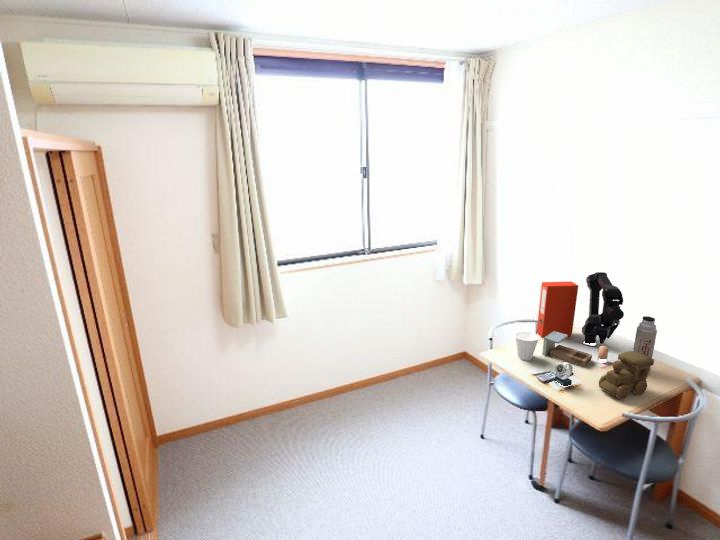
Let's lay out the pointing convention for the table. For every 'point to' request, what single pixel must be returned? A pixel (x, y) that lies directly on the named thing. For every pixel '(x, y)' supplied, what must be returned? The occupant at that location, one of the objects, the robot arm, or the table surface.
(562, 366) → the watch
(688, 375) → the table surface
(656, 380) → the table surface
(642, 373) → the wooden toy train
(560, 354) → the socket block
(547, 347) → the awning
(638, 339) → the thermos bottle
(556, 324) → the file binder
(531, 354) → the cup
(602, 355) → the peg
